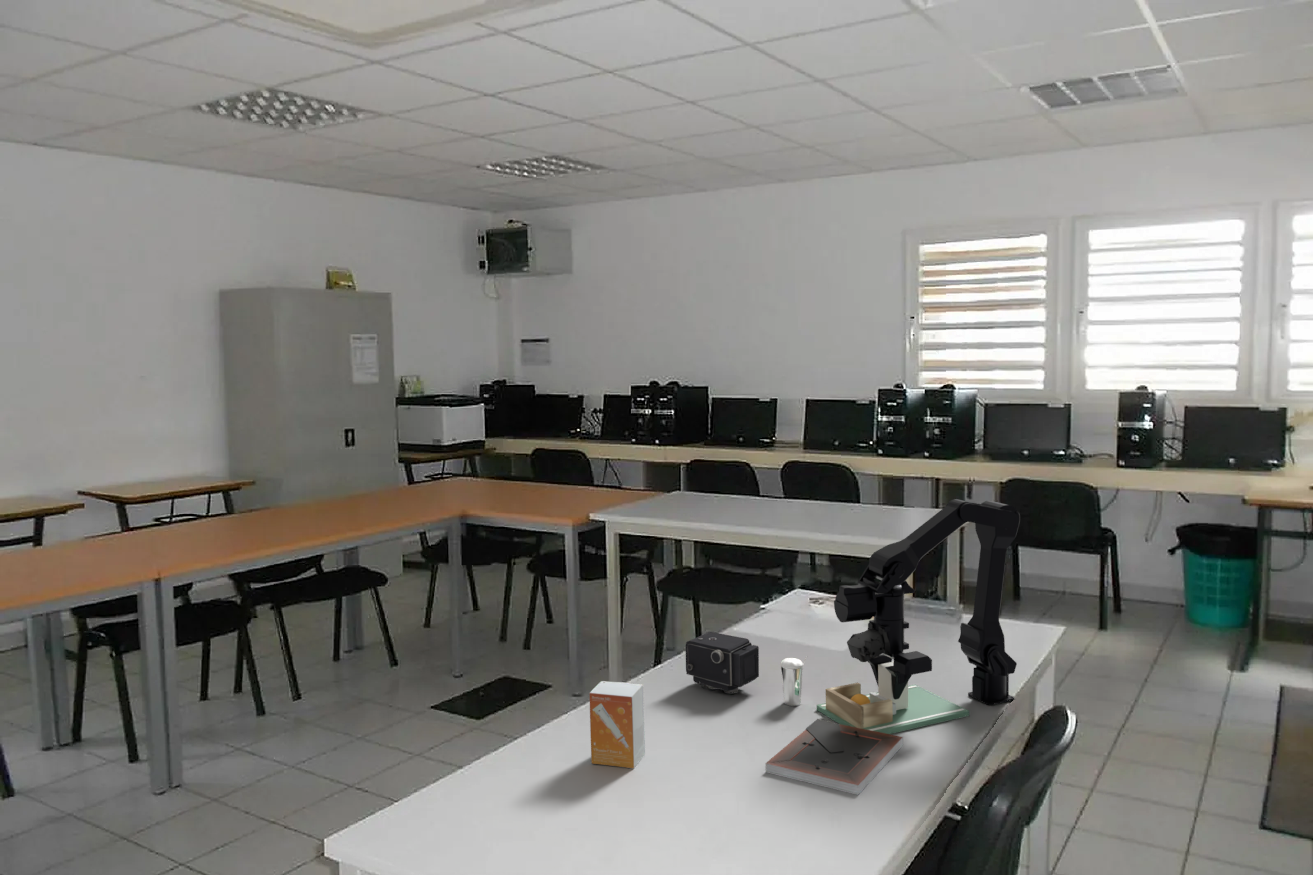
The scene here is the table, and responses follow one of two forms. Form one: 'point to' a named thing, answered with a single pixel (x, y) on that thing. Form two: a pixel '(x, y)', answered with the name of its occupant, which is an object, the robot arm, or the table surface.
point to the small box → (617, 724)
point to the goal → (857, 707)
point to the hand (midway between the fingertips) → (889, 695)
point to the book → (835, 756)
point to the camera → (722, 661)
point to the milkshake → (792, 680)
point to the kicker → (888, 689)
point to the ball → (860, 699)
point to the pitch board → (912, 712)
